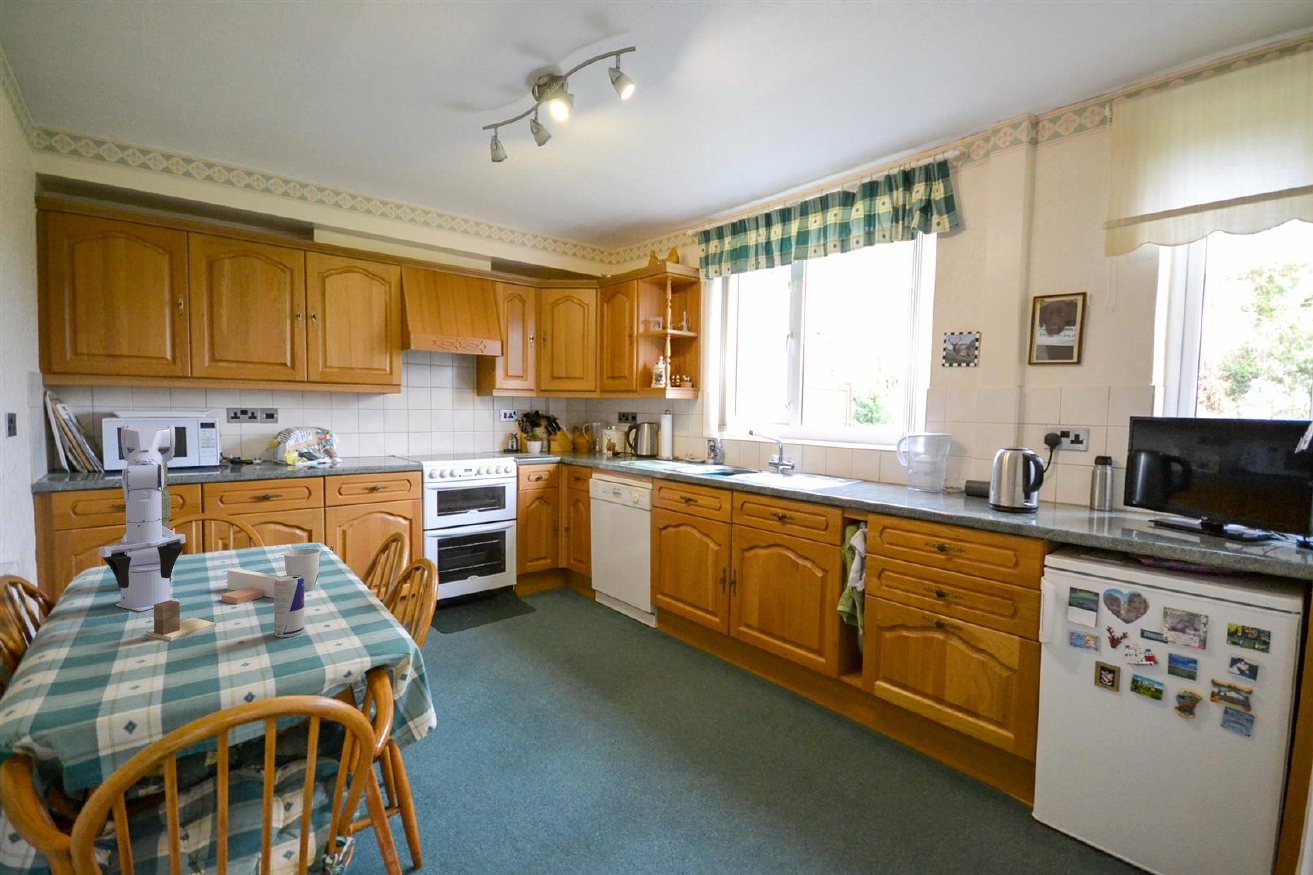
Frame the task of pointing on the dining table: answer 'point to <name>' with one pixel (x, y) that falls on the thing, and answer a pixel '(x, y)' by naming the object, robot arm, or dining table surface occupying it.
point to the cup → (304, 565)
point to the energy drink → (288, 605)
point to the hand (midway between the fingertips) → (145, 582)
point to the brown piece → (175, 622)
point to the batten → (251, 581)
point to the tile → (241, 595)
